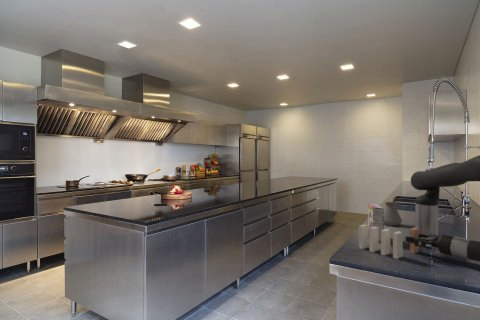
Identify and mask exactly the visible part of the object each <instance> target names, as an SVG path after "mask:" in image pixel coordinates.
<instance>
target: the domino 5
mask: <svg viewBox="0 0 480 320" xmlns="http://www.w3.org/2000/svg"><path fill="white" fill-rule="evenodd" d="M409 237H413V238H419V228H415V227H412V228H410V229H409ZM418 252H420V247H419V246H415V244H414V243H410V242H409V253H410V254H416V253H418Z"/></svg>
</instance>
